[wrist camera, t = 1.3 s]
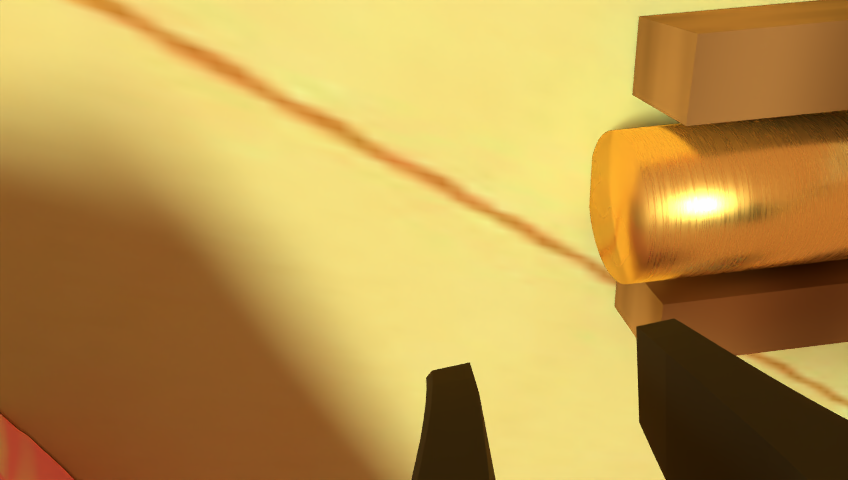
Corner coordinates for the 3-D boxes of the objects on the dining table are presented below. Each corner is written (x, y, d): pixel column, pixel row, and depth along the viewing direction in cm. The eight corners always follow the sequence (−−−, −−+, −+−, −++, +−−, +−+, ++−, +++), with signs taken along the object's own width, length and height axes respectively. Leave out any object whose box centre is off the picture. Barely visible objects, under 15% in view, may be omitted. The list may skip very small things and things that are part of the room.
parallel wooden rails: (1007, -17, 16) (1136, -7, 13) (910, 271, 20) (995, 323, 17) (638, 16, 16) (698, 33, 13) (614, 306, 20) (655, 365, 17)
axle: (938, 77, 17) (1088, 118, 14) (896, 205, 19) (1018, 270, 16) (593, 111, 17) (657, 163, 13) (585, 239, 19) (639, 314, 15)
